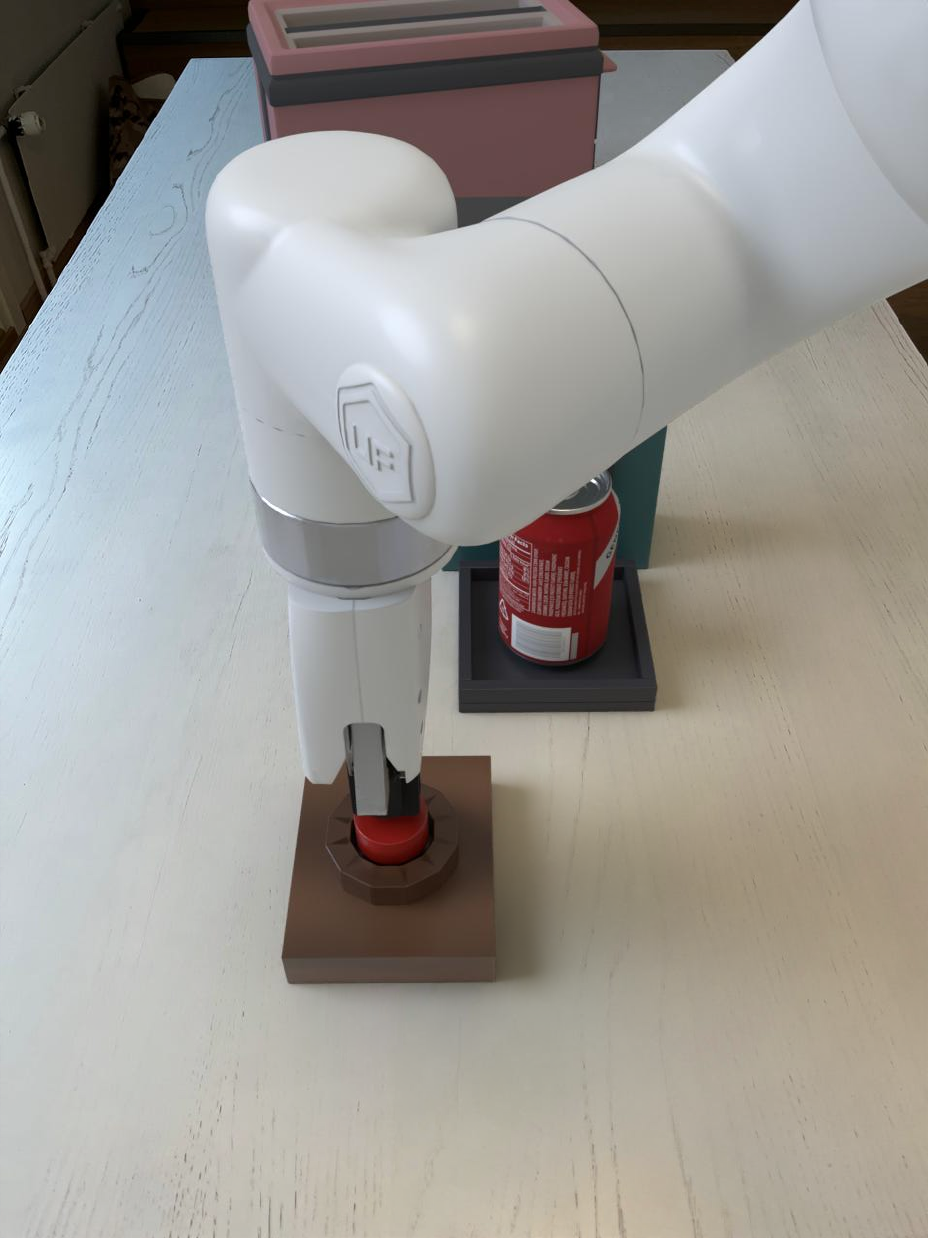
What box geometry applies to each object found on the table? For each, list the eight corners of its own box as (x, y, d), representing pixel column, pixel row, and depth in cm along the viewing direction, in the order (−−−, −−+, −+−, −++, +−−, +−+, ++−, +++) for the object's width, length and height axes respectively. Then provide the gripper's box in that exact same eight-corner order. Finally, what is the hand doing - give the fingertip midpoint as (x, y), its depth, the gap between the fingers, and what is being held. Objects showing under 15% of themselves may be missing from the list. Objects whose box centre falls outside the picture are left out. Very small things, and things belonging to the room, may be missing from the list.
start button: (427, 865, 53) (426, 844, 52) (353, 865, 53) (350, 844, 52) (429, 804, 56) (428, 783, 54) (359, 805, 56) (356, 784, 54)
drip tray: (654, 711, 65) (657, 688, 63) (458, 712, 65) (458, 689, 63) (632, 580, 73) (635, 558, 72) (459, 582, 73) (458, 559, 72)
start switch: (495, 982, 52) (495, 939, 50) (287, 983, 52) (276, 940, 50) (490, 782, 61) (490, 736, 58) (312, 783, 61) (304, 737, 58)
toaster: (628, 251, 108) (650, 24, 94) (286, 295, 103) (255, 60, 88) (568, 177, 122) (579, -32, 108) (263, 212, 116) (232, -4, 102)
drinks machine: (651, 572, 74) (697, 246, 58) (438, 574, 74) (426, 249, 58) (639, 510, 79) (679, 193, 63) (440, 512, 79) (429, 196, 63)
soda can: (573, 689, 65) (586, 533, 57) (478, 646, 68) (477, 491, 59) (625, 623, 69) (644, 468, 61) (533, 584, 72) (539, 431, 63)
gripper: (281, 390, 45) (324, 688, 58) (224, 646, 35) (292, 944, 47) (461, 388, 45) (465, 687, 58) (461, 645, 34) (465, 943, 47)
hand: (387, 802), depth 53 cm, fingers closed
